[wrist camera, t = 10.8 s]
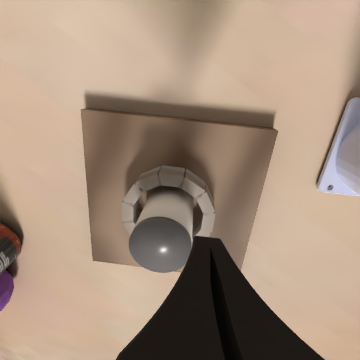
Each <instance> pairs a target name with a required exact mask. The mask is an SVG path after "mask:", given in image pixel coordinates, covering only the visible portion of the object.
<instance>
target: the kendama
mask: <svg viewBox="0 0 360 360" xmlns="http://www.w3.org/2000/svg"><path fill="white" fill-rule="evenodd" d="M13 288H14V283H13V277H12V276H11V275H10V274H9V273H8V272H7V271H6V270H4V271H3V272H2V273H1V274H0V311H1V310H2V309H3V308H4V307H5V306H6V304H7V303H8V302H9V300H10V298H11V295H12V292H13Z"/></svg>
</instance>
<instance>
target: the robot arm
mask: <svg viewBox="0 0 360 360" xmlns="http://www.w3.org/2000/svg"><path fill="white" fill-rule="evenodd" d="M329 185H331V187H330V188H328V189H327V187H328V186H329ZM317 189H318V190H319V191H321V192H327V193H336V194H344V195H353V196H360V98H359V97H355V98H352V99H350V100H349V101H348V103H347V105H346V108H345V111H344V114H343V116H342V119H341V122H340V124H339V127H338V130H337V132H336V135H335V138H334V140H333V143H332V146H331V148H330V151H329V154H328V156H327V159H326V162H325V164H324V167H323V170H322V173H321V175H320V178H319V181H318V183H317ZM116 360H325V359H323V358H322V357H321V356H320V355H319V354H317V353H316V352H315V351H314V350H313V349H312V348H311V347H309V346H308V345H307V344H306V343H305V342H304V341H303V340H302V339H300V338H299V337H298V336H297V335H296V334H295V333H294V332H293V331H292V330H291V329H290V328H289V327H288V326H287V325H286V324H285V323H284V322H283V321H282V320H281V319H280V318H279V317H278V316H277V315H276V314H275V313H274V312H273V311H272V310H271V309H270V308H269V307H268V306H267V304H266V303H265V302H264V301H263V300H262V299H261V297H260V296H259V295H258V294H257V293H256V291H255V290H254V289H253V288H252V286H251V285H250V284H249V282H248V281H247V280H246V278H245V277H244V275H243V274H242V273H241V271H240V270H239V268H238V267H237V265H236V264H235V262H234V260H233V259H232V257H231V256H230V254H229V252H228V251H227V249H226V247H225V245H224V244H223V242H222V240H221V239H220V238H212V237H203V236H195V237H193V243H192V249H191V252H190V255H189V257H188V260H187V262H186V265H185V267H184V269H183V271H182V273H181V275H180V277H179V278H178V280H177V282H176V284H175V285H174V287H173V289H172V290H171V292H170V293H169V295H168V296H167V298H166V299H165V301H164V302H163V304H162V305H161V306H160V308H159V309H158V310H157V312H156V313H155V314H154V315H153V317H152V318H151V319H150V320H149V321H148V323H147V324H146V325H145V326H144V328H143V329H142V330H141V331H140V332H139V333H138V334H137V335H136V336H135V338H134V339H133V340H132V341H131V342H130V343H129V344H128V345H127V346H126V347H125V348H124V349H123V350H122V351H121V352H120V353H119V355H118V357H117V359H116Z"/></svg>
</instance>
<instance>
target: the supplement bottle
mask: <svg viewBox="0 0 360 360" xmlns="http://www.w3.org/2000/svg"><path fill="white" fill-rule="evenodd" d="M20 252H21V242H20V240H19V238H18V237H17V236H16V234H15V233H14V232H13V231H12V230H10V229H9V228H8V227H6V226H5V225H3V224H1V223H0V274H1V273H2V272H3V271H4V270H5V269H6V268H7V267H8V266H9V265H10V264H11V263H12V262H13V261H14V260H15V258H16V257H17V256H18V255H19V254H20Z"/></svg>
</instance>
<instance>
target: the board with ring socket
mask: <svg viewBox="0 0 360 360" xmlns="http://www.w3.org/2000/svg"><path fill="white" fill-rule="evenodd" d="M81 118H82V130H83V143H84V156H85V168H86V181H87V193H88V206H89V219H90V231H91V244H92V256H93V261H100V262H107V263H115V264H122V265H130V266H137V267H142V266H141V265H139V264H138V263H137V262H136V261H135V260H134V258H133V257H132V255H131V253H130V251H129V238H130V236H131V233H132V231H133V229H134V227H135V225H136V223H137V221H138V219H139V217H140V214H141V212H142V210H143V208H144V206H145V204H146V202H147V200H148V198H149V196H150V194H151V193H152V191H153V190H155V189H156V188H158V187H160V186H171V187H180V188H181V189H183V190H184V191H186V192H187V193H189V194H190V196H191V198H192V200H193V204H194V211H193V229H192V243H193V237H195V236H203V237H212V238H220V239H221V240H222V242H223V244H224V245H225V247H226V249H227V251H228V252H229V254H230V256H231V257H232V259H233V260H234V262H235V264H236V265H237V267H238V268H239V270H240V271H241V267H242V264H243V260H244V256H245V252H246V249H247V245H248V241H249V237H250V234H251V230H252V226H253V223H254V219H255V215H256V211H257V208H258V204H259V200H260V196H261V193H262V189H263V185H264V181H265V178H266V174H267V170H268V167H269V163H270V159H271V155H272V152H273V148H274V144H275V140H276V137H277V133H278V131H277V130H276V129H274V128H266V127H257V126H247V125H238V124H229V123H219V122H210V121H201V120H192V119H182V118H173V117H164V116H155V115H145V114H136V113H127V112H117V111H108V110H99V109H90V108H87V109H81ZM191 249H192V248H191ZM185 265H186V264H185ZM185 265H184V266H183V267H181V268H180V269H178V270H175V272H182V271H183V269H184V267H185Z"/></svg>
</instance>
